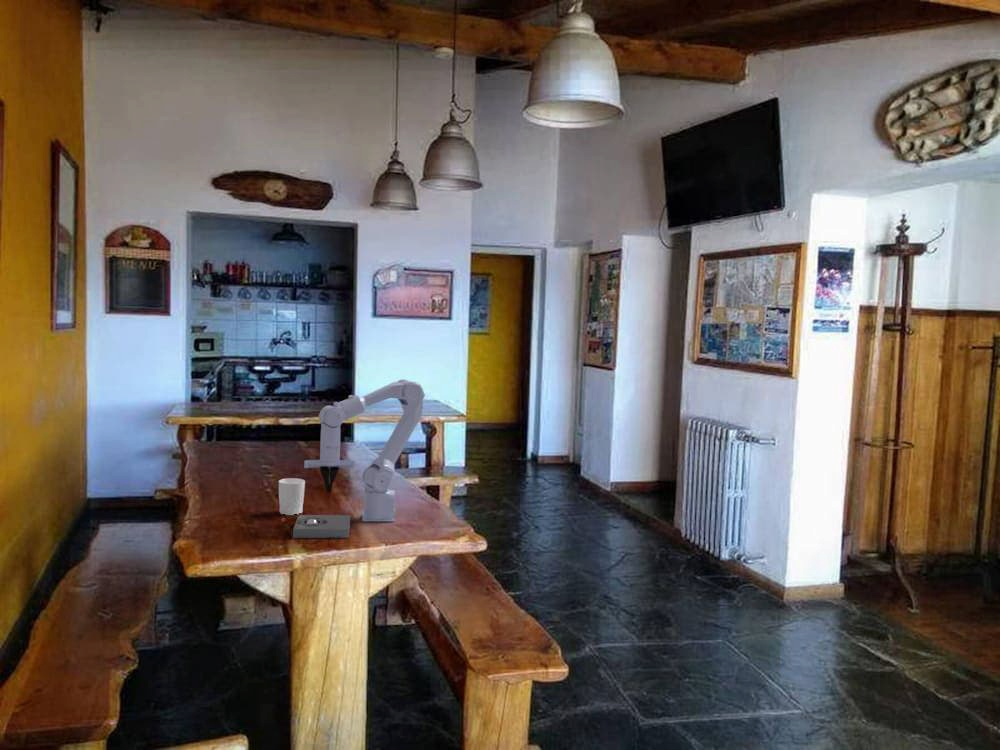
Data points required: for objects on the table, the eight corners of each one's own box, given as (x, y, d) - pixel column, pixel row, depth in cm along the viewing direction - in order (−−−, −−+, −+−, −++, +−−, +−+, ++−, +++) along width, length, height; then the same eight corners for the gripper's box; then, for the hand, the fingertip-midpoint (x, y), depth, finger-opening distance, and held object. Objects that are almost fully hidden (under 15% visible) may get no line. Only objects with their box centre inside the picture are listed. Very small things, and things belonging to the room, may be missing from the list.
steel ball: (302, 525, 215) (310, 533, 215) (304, 524, 212) (312, 533, 212) (311, 516, 216) (319, 524, 217) (313, 516, 213) (321, 524, 214)
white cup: (277, 516, 228) (278, 483, 227) (277, 509, 235) (278, 478, 235) (304, 515, 230) (305, 483, 229) (303, 509, 238) (304, 478, 237)
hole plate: (350, 523, 224) (350, 515, 223) (348, 538, 209) (348, 529, 209) (298, 523, 221) (298, 515, 221) (292, 538, 206) (293, 529, 206)
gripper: (303, 448, 216) (302, 494, 217) (354, 449, 219) (353, 495, 220) (306, 444, 223) (304, 489, 224) (355, 445, 226) (354, 489, 227)
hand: (328, 491), depth 222 cm, fingers closed
